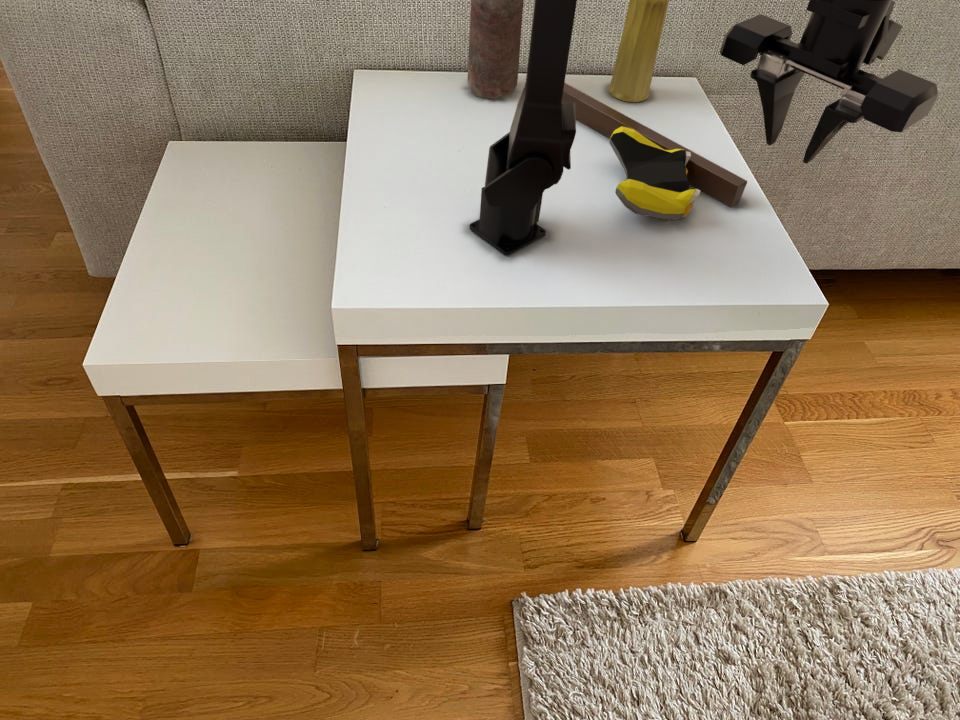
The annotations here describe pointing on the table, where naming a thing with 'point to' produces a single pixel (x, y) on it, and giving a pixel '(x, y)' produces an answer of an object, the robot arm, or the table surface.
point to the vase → (638, 50)
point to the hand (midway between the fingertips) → (788, 152)
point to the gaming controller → (652, 176)
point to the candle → (494, 46)
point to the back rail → (699, 168)
